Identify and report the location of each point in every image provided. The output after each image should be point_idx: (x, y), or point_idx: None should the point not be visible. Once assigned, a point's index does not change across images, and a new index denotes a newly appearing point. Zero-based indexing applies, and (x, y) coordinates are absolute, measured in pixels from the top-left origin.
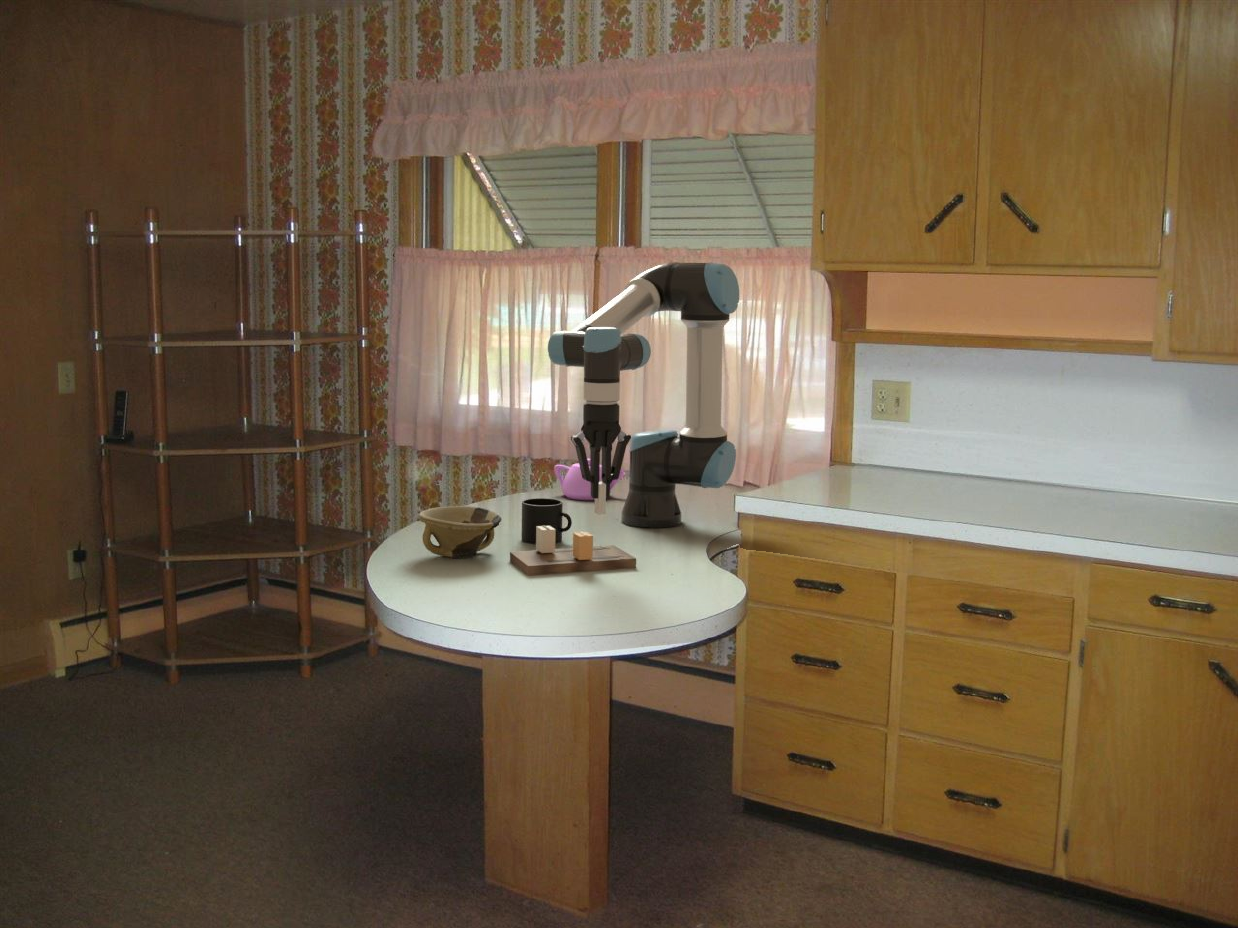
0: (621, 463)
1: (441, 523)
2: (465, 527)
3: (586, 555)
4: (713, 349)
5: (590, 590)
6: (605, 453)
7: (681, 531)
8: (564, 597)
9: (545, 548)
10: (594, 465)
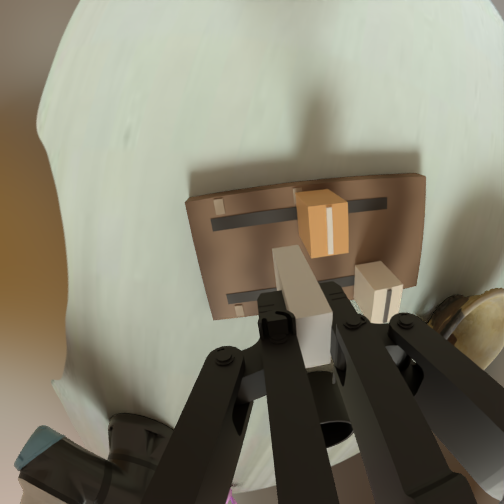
0: (177, 433)
1: None
2: (498, 288)
3: (312, 192)
4: None
5: (330, 37)
6: (336, 501)
7: (105, 397)
8: (380, 17)
9: (377, 266)
10: (409, 390)
